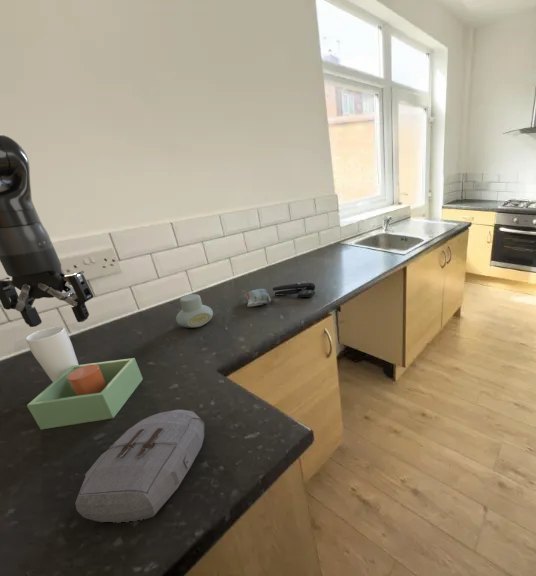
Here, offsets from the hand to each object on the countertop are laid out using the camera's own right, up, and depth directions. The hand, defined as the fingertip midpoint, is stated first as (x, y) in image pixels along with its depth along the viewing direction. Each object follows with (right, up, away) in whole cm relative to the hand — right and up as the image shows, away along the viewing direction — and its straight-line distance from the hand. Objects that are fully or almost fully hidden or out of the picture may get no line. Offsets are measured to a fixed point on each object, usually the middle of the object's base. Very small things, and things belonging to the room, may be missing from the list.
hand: (60, 322), depth 67 cm
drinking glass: (-11, -17, +14) cm, 25 cm away
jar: (+1, -19, +7) cm, 20 cm away
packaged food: (+19, +1, +56) cm, 60 cm away
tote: (+1, -19, +8) cm, 21 cm away
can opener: (+32, +4, +63) cm, 70 cm away
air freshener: (+4, -5, +42) cm, 43 cm away
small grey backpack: (+27, -26, -9) cm, 39 cm away
